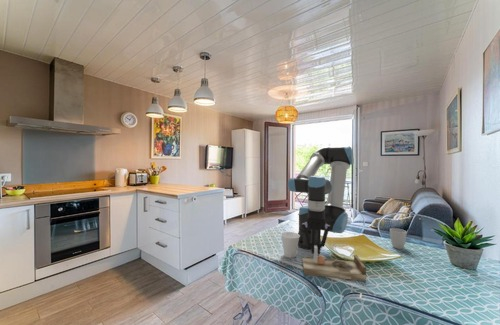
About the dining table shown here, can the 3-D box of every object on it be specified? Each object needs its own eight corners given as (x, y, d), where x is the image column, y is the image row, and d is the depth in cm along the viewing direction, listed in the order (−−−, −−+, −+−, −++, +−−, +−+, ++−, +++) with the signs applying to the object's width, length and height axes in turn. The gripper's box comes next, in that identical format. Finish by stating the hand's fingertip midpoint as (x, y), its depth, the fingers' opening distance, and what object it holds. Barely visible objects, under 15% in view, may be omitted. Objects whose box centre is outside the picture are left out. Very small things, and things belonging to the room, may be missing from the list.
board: (302, 261, 102) (302, 250, 103) (356, 267, 98) (356, 255, 98) (304, 274, 91) (304, 261, 91) (365, 281, 86) (366, 267, 86)
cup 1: (300, 253, 112) (300, 232, 113) (299, 261, 103) (299, 239, 103) (281, 250, 115) (281, 231, 115) (279, 258, 106) (279, 237, 106)
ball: (318, 253, 97) (326, 256, 96) (315, 259, 97) (322, 263, 97) (319, 256, 93) (327, 260, 93) (316, 263, 94) (323, 267, 93)
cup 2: (409, 248, 120) (409, 231, 121) (400, 250, 117) (400, 233, 118) (395, 243, 128) (395, 227, 128) (386, 245, 125) (386, 228, 125)
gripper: (302, 210, 93) (301, 262, 93) (332, 212, 91) (331, 266, 91) (301, 207, 101) (300, 255, 101) (329, 208, 98) (328, 258, 98)
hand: (315, 260), depth 96 cm, fingers closed
